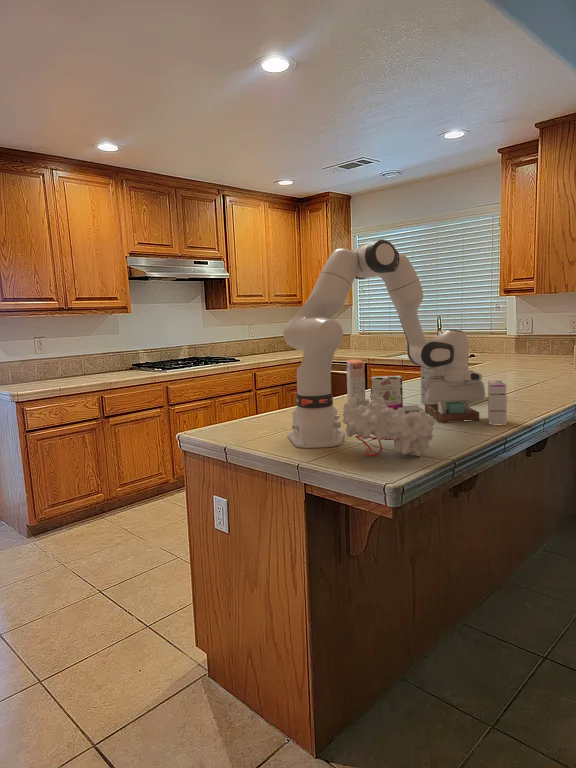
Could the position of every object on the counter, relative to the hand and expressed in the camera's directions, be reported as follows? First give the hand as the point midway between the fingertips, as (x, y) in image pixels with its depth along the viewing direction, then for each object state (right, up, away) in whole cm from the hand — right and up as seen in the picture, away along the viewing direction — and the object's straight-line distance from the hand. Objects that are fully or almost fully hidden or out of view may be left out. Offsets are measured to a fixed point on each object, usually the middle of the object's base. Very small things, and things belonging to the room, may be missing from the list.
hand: (455, 413), depth 187 cm
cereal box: (+7, +3, +35) cm, 36 cm away
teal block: (0, -2, 0) cm, 2 cm away
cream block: (0, -1, +10) cm, 10 cm away
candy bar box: (-24, -3, +2) cm, 24 cm away
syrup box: (+11, -3, -10) cm, 15 cm away
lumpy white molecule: (-33, -10, -40) cm, 53 cm away
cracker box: (-33, -1, +18) cm, 38 cm away
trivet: (-14, -1, +14) cm, 20 cm away
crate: (0, -1, +5) cm, 5 cm away
